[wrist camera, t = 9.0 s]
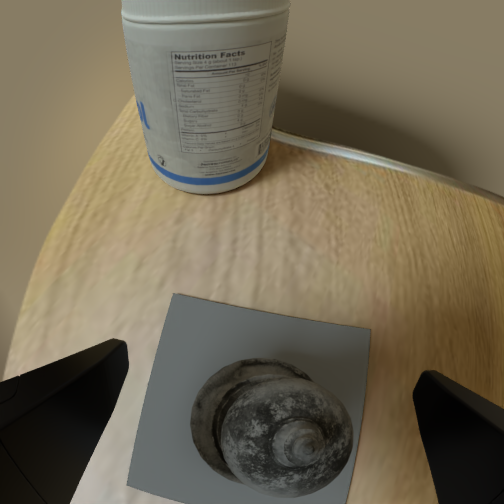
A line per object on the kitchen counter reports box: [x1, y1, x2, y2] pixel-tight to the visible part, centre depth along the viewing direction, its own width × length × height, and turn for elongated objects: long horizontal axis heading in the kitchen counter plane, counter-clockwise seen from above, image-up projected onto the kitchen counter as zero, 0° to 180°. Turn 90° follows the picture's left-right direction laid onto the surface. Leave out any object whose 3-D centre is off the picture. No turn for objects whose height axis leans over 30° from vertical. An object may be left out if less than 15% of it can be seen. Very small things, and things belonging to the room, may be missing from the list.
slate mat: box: [127, 293, 371, 504], centre depth 15 cm, size 12×12×1 cm
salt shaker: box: [190, 358, 354, 498], centre depth 9 cm, size 6×6×12 cm
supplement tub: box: [121, 0, 290, 194], centre depth 17 cm, size 10×10×15 cm
